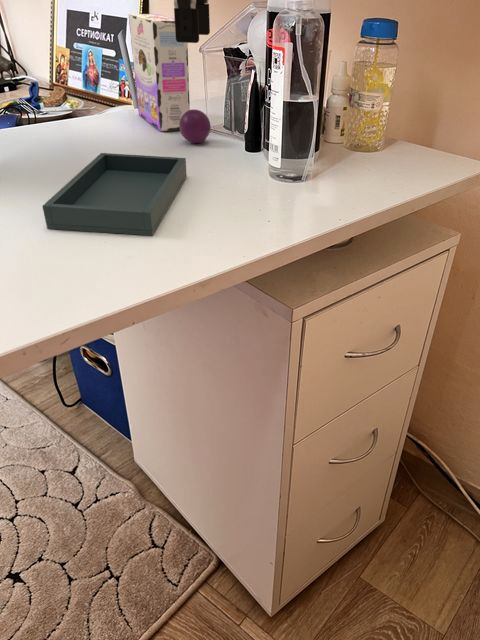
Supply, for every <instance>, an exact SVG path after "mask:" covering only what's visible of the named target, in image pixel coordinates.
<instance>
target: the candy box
mask: <svg viewBox="0 0 480 640" xmlns="http://www.w3.org/2000/svg"><path fill="white" fill-rule="evenodd" d="M128 24H129V31H130V33H129V34H130V42H131V43H130V44H131V51H132V53H131V54H132V61H133V62H132V63H133V72H134V81H135V91H136V93H135V94H136V103H137V104H136V105H137V113H138V116H139V117H141V119H143V120H145V121H146V122H147V123H149V124H151V125H152V127H154V128H156V130H159V131H160V132H167V131H168V132H170V131H171V132H172V131H180V128H179V123H180V119H181V117H182V115H183V114H184V113H185V112H187V111H189V110H191V107H190V106H191V105H190V82H189V81H190V80H189V79H190V78H189V75H190V74H189V48H188V46H189V44H188V43H183V42H177V41H176V33H175V17H170V16H167V15H162V14H157V13H128Z"/></svg>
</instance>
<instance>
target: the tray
mask: <svg viewBox="0 0 480 640" xmlns="http://www.w3.org/2000/svg"><path fill="white" fill-rule="evenodd" d="M187 177H188V176H187V159H186V157H175V156H157V155H143V154H142V155H141V154H128V153H127V154H125V153H124V154H123V153H109V152H108V153H107V152H100V153H99V154H98V155H97V156H96V157H95V158H93V159H92V160H91V162H89V163H88V164H87V165H86V166H85V167H84V168H82V169H81V170H80V171H79V172H77V174H76V175H74V177H73V178H71V179H70V181H68V182H67V183H66V184H65V185H64V186H63V187H61V188H60V189H59V190H58V191H57V192H56V193H54V194H53V196H51V197H50V198H49V199H48V200H47V201H46V202H45V203H44V204H43V205H42V210H43V216H44V220H45V224H46V228H47V229H48V230H59V231H60V230H61V231H74V232H77V231H78V232H91V233H108V234H121V235H137V236H150V237H151V236H152V237H153V236H154V234H155V233H156V230H157V229H158V227H159V225H160V223H161V222H162V220H163V218H164V217H165V215H166V213H167V212H168V210H169V208H170V206H171V205H172V203H173V201H174V200H175V198H176V196H177V195H178V193H179V191H180V189H181V188H182V186H183V184H184V182H185V181H186V179H187Z"/></svg>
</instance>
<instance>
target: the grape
mask: <svg viewBox="0 0 480 640" xmlns="http://www.w3.org/2000/svg"><path fill="white" fill-rule="evenodd" d="M179 128H180V130H179V132H180V135H181V136H182V137H183V138H184V139H185V141H187V142H189V143H191V144H200V143H202V142H204V141H205V140H206V139H207V138H208V137H209V135H210V133H211V121H210V119H209V117H208V116H207V114H206V113H205V112H203V111H201V110H199V109H190V110H189V111H187V112H185V113H184V114H183V115H182V117H181V119H180V123H179Z"/></svg>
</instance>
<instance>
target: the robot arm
mask: <svg viewBox="0 0 480 640" xmlns="http://www.w3.org/2000/svg"><path fill="white" fill-rule="evenodd" d="M173 7H174V8H173V14H174V15H173V16H174V17H173V18H175V33H176V41H177V42H183V43H189V44H197V43H199V42H200V36H208V35H210V33H211V25H210V24H211V23H210V3H209V0H173Z"/></svg>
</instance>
